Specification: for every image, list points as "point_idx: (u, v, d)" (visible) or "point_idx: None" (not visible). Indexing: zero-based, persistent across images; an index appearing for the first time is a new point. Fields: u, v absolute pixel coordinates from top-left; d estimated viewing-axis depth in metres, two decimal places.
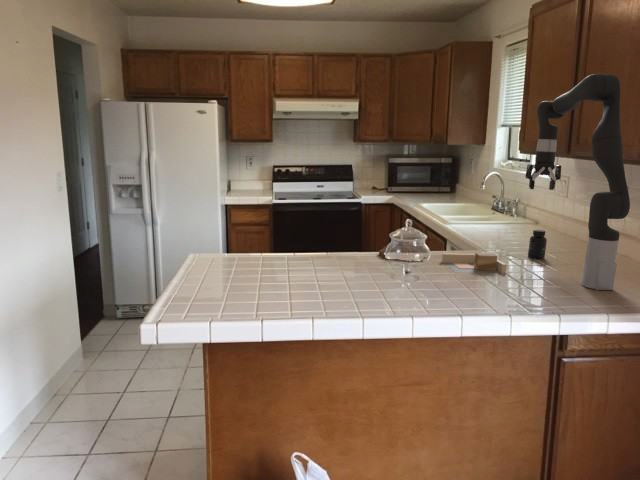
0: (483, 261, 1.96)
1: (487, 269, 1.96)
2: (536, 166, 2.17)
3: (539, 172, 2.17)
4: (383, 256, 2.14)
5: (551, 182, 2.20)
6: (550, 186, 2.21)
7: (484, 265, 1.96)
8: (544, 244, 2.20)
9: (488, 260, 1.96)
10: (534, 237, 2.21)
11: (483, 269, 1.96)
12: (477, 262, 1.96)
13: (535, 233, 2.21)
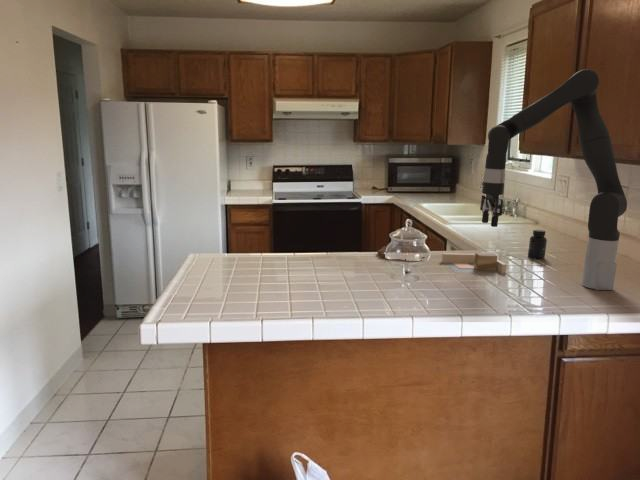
0: (483, 261, 1.96)
1: (487, 269, 1.96)
2: None
3: None
4: (382, 256, 2.14)
5: (486, 214, 1.98)
6: (485, 219, 1.99)
7: (484, 265, 1.96)
8: (544, 244, 2.20)
9: (488, 260, 1.96)
10: (534, 237, 2.21)
11: (483, 269, 1.96)
12: (477, 262, 1.96)
13: (535, 233, 2.21)
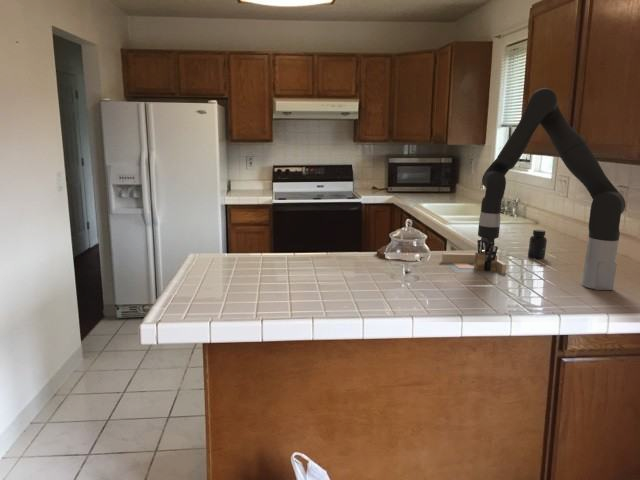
0: (483, 261, 1.96)
1: None
2: None
3: None
4: (380, 255, 2.14)
5: None
6: None
7: (484, 265, 1.96)
8: (544, 244, 2.20)
9: None
10: (534, 237, 2.21)
11: (483, 269, 1.96)
12: (477, 262, 1.96)
13: (535, 233, 2.21)
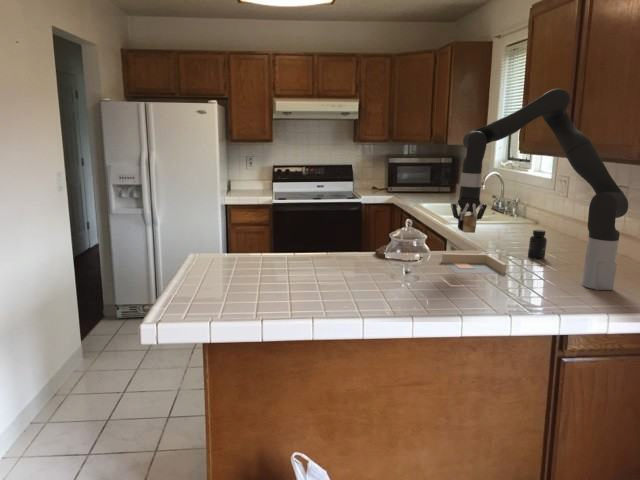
0: None
1: None
2: None
3: None
4: (378, 255, 2.15)
5: None
6: None
7: None
8: (544, 244, 2.20)
9: None
10: (534, 237, 2.21)
11: None
12: (473, 224, 1.96)
13: (535, 233, 2.21)
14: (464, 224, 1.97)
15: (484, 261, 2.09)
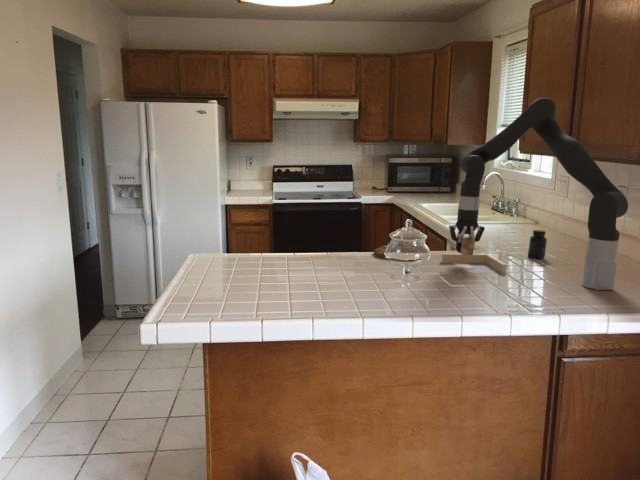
0: None
1: None
2: None
3: None
4: (376, 255, 2.16)
5: None
6: None
7: None
8: (544, 244, 2.20)
9: None
10: (534, 237, 2.21)
11: None
12: (471, 246, 1.98)
13: (535, 233, 2.21)
14: (462, 246, 1.99)
15: (484, 261, 2.09)
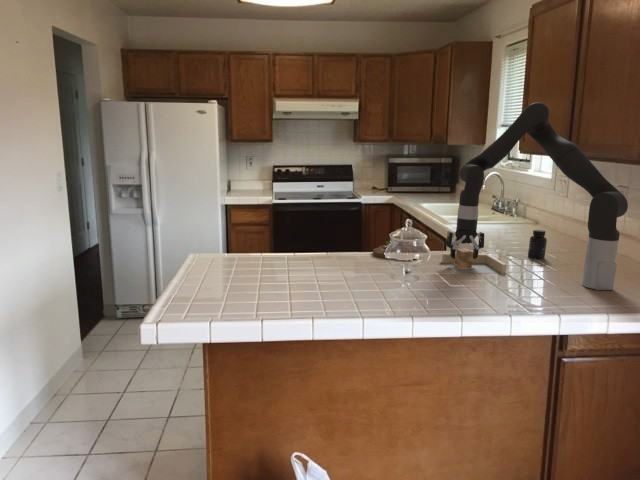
0: None
1: None
2: None
3: None
4: (374, 254, 2.16)
5: None
6: None
7: None
8: (544, 244, 2.20)
9: None
10: (534, 237, 2.21)
11: None
12: (469, 259, 1.99)
13: (535, 233, 2.21)
14: (461, 259, 2.00)
15: (484, 261, 2.09)
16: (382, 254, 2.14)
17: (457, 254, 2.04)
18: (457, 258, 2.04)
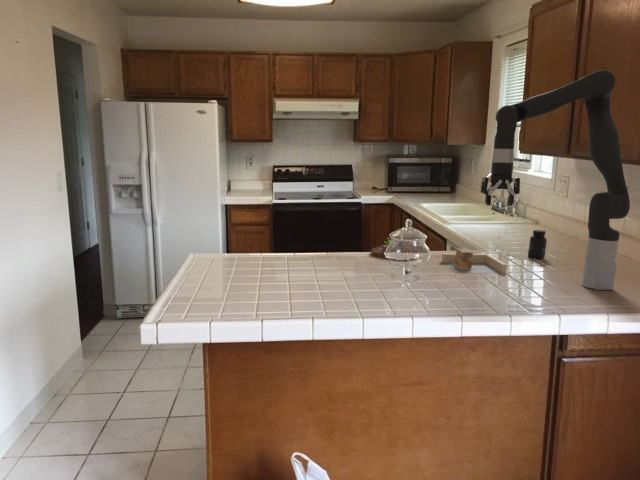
0: None
1: None
2: None
3: None
4: (372, 253, 2.18)
5: None
6: None
7: None
8: (544, 244, 2.20)
9: None
10: (534, 237, 2.21)
11: None
12: (469, 259, 1.99)
13: (535, 233, 2.21)
14: (461, 259, 2.00)
15: (484, 261, 2.09)
16: (379, 253, 2.15)
17: (457, 254, 2.04)
18: (457, 258, 2.04)
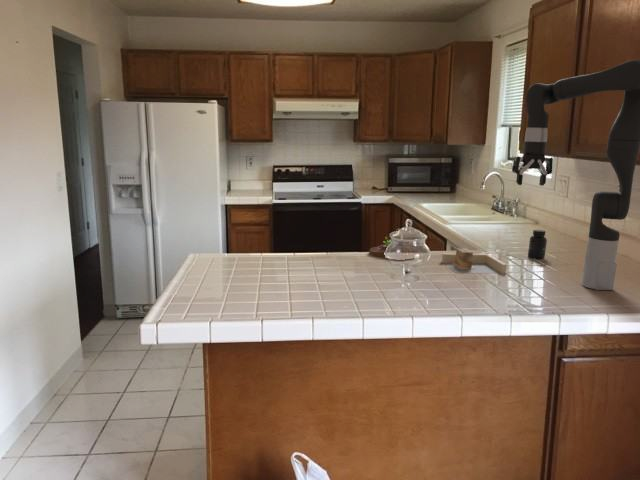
0: None
1: None
2: None
3: None
4: (369, 253, 2.19)
5: None
6: None
7: None
8: (544, 244, 2.20)
9: None
10: (534, 237, 2.21)
11: None
12: (469, 259, 1.99)
13: (535, 233, 2.21)
14: (461, 259, 2.00)
15: (484, 261, 2.09)
16: (376, 253, 2.16)
17: (457, 254, 2.04)
18: (457, 258, 2.04)
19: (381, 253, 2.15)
